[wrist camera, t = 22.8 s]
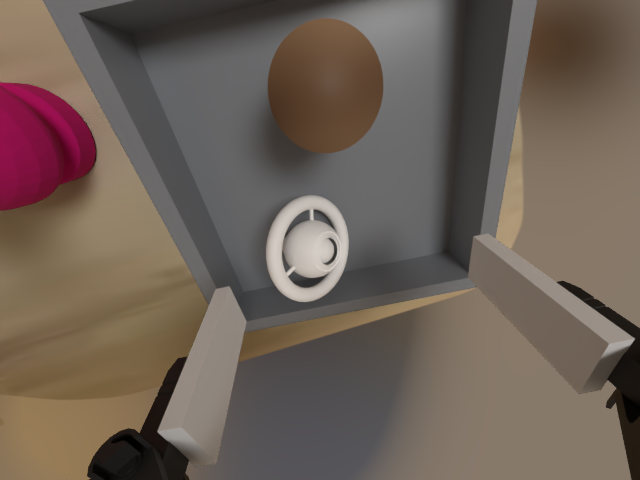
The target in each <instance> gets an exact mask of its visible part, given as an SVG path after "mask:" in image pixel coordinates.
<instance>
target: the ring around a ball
mask: <svg viewBox="0 0 640 480" xmlns="http://www.w3.org/2000/svg"><path fill="white" fill-rule="evenodd" d="M313 209H315V210H319V211H321V212H322V213H324V214H325V215H326V216H327V217H328V218H329V220H330V221H331V223H332V225H333V227H334V229H333V228H332V227H331V226H329V225H328V224H326V223H324V222H321V221H317V220H314V216H313ZM306 210H309V212H310V220H308V221H304V222H301V223H299V224H297V225H296V226H295V227H293V228H292V229H291V230H290V232H289V233H288V235H287V236H286V237H285V238H284V236H285V234H286V231H287V229H288V227H289V225H290V224H291V222H292V221H293V219H294V218H295V217H296V216H297V215H299V214H300V213H302V212H304V211H306ZM282 250H283V253H284V256H285V259H286V261H287V263H288V265H289V266H290V269H289V270H288V271H287V272H285V269H284V266H283V261H282ZM348 250H349V238H348V231H347V226H346V223H345V220H344V218H343V216H342V214H341V213H340V211H339V210H338V208H337V207H336V206H335V205H334V204H333V203H332V202H330V201H329V200H327V199H325V198H323V197H320V196H317V195H306V196H301V197H299V198H296V199H294V200H292V201H291V202H289V203H288V204H287V205H286V206H285V207H284V208H282V210H281V211H280V212H279V213H278V215H277V216H276V218H275V220H274V221H273V223H272V226H271V228H270V231H269V234H268V238H267V244H266V262H267V268H268V271H269V274H270V277H271V279H272V281H273V283H274V285H275V286H276V287H277V289H278V290H279V291H280V292H281V293H282V294H283V295H284V296H286V297H288V298H290V299H291V300H294V301H298V302H310V301H314V300H317V299H319V298H321V297H323V296H324V295H326V294H327V293H328V292H329V291H330V290H331V289H332V288H333V287H334V286H335V285H336V283H337V282H338V281H339V279H340V277H341V275H342V273H343V271H344V268H345V265H346V262H347V257H348ZM293 271H294V272H296V273H297V274H299V275H301V276H304V277H308V278H317V277H321V276H324V275H326V274H327V275H326V277H325V278H324V279H323V280H322V281H321V282H320V283H318V284H317V285H315V286H312V287H309V288H303V287H299V286H297V285H295V284H294V283H293V282H292V281H291V280H290V279H289V277H288V276H289V275H290V274H291V273H292V272H293Z"/></svg>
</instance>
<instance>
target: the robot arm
mask: <svg viewBox="0 0 640 480" xmlns="http://www.w3.org/2000/svg"><path fill="white" fill-rule="evenodd" d="M468 278H469V279H470V280H471V281H472V282H473V283H474V284H475V285H476V286H477V287H478V288H479V289H480V290H481V291H482V293H483V294H484V295H485V296H486V297H487V298H488V299H489V300H490V301H491V302H492V303H493V304H494V305H495V306H496V307H497V308H498V309H499V310H500V311H501V313H502V314H503V315H504V316H505V317H506V318H507V319H508V320H509V321H510V322H511V323H512V324H513V325H514V326H515V327H516V328H517V329H518V330H519V331H520V333H521V334H522V335H523V336H524V337H525V338H526V339H527V340H528V341H529V342H530V343H531V344H532V345H533V346H534V347H535V348H536V349H537V350H538V351H539V352H540V354H542V356H543V357H544V358H545V359H546V360H547V361H548V362H549V363H550V364H551V365H552V366H553V367H554V368H555V369H556V370H557V371H558V373H559V374H560V375H561V376H562V377H563V378H564V379H565V380H566V381H567V382H568V383H569V384H570V385H571V386H572V387H573V388H574V389H575V390H576V391H577V392H578V394H582V393H587V392H593V391H598V390H601V389H602V387H603V386H604V384H605V383H606V381H607V380H609V381H610V382H611V383H612V384H613V385H614V386H615V387H616V390H615V391H614V392H613V394H612V395H611V397H610V398H609V399H608V401H607V404H606V407H607V408H609V409H611V408H612V406H613V405H614V404H615V402H616V405H617V410H618V415H619V420H620V425H621V430H622V435H623V440H624V445H625V450H626V454H627V459H628V464H629V469H630V474H631V479H632V480H640V328H638V327H637V326H636V325H634V324H632V323H631V322H630V321H628V320H627V319H625V318H624V317H622V316H621V315H619V314H617V313H616V312H615V311H613V310H612V309H610V308H609V307H606V306H605V304H603V303H602V302H600V301H599V300H597V299H594V297H593V296H591V295H590V294H588V293H587V292H585V291H584V290H582V289H581V288H579V287H577V286H574V285H572V284H570V283H567V282H565V281H560V282H555V281H554V280H552V279H551V278H549V277H548V276H546V275H545V274H544V273H542V272H541V271H540V270H538V269H537V268H536V267H534V266H533V265H531V264H530V263H529V262H527V261H526V260H524V259H523V258H522V257H520V256H519V255H517V254H516V253H515V252H513V251H512V250H510V249H509V248H508V247H506V246H505V245H503V244H502V243H501V242H499V241H498V240H496V239H495V238H494V237H492V236H491V235H489V234H488V233H487V234H483V235H478V236H473V243H472V250H471V258H470V265H469V272H468ZM245 327H246V319H245V317H244V315H243V313H242V311H241V309H240V307H239V305H238V303H237V301H236V299H235V297H234V294H233V292H232V290H231V288H230V286H228V287H223V288H218V289H215V292H214V294H213V297H212V299H211V302H210V304H209V306H208V309H207V311H206V314H205V316H204V319H203V321H202V324H201V326H200V328H199V331H198V333H197V336H196V338H195V341H194V343H193V346H192V348H191V350H190V353H189V355H188V357H183V358H178V359H177V360H176V362H175V363H174V364H173V365H172V367H171V368H170V369H169V370H168V372H167V375H166V377H165V379H164V381H163V385H162V386H161V388H160V390H159V392H158V396H157V397H156V398H155V401H154V403H153V405H152V407H151V409H150V412H149V414H148V416H147V418H146V420H145V422H144V425H143V427H142V429H141V431H140V433H138V432H137V431H136V430H135V429H125V430H122V431H119V432H118V433H116V434H115V435H113V436H112V437H110V438H109V439H108V440H107V441H106V442H105V443H104V444H103V445H102V446H101V447H100V448H99V450H98V451H97V452H96V454H95V455H94V456H93V459H92V461H91V463H90V465H89V467H88V474H87V476H88V477H89V478H91V479H89V480H189V477H188V476H187V475H186V473H185V472H186V468H187V465H188V462H191V463H192V464H193V465H194V466H195V467H201V466H205V465H211V464H216V463H217V457H218V453H219V448H220V444H221V439H222V434H223V429H224V425H225V420H226V416H227V411H228V406H229V402H230V397H231V392H232V388H233V383H234V377H235V373H236V369H237V363H238V359H239V355H240V350H241V345H242V341H243V336H244V331H245Z"/></svg>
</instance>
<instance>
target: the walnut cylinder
mask: <svg viewBox="0 0 640 480" xmlns="http://www.w3.org/2000/svg"><path fill="white" fill-rule="evenodd" d="M268 98H269V103H270V107H271V110H272V114H273V116H274V118H275V120H276V122H277V124H278V126H279V127H280V129H281V130H282V131H283V133H284V134H285V135H286V136H287V137H288V138H289V139H290V140H291V141H292V142H294V143H295V144H296V145H298V146H300V147H301V148H304V149H306V150H308V151H312V152H316V153H334V152H338V151H342V150H344V149H347V148H349V147H350V146H352V145H354V144H355V143H357V142H358V141H359V140H360V139H361V138H362V137H363V136H364V135H365V134H366V133H367V132H368V131H369V129H370V128H371V126H372V125H373V123H374V121H375V119H376V117H377V115H378V113H379V110H380V107H381V102H382V98H383V73H382V68H381V64H380V61H379V58H378V55H377V53H376V51H375V49H374V47H373V46H372V44H371V43H370V41H369V40H368V39H367V38H366V37H365V35H364V34H363V33H362V32H360V31H359V30H358V29H357V28H355V27H354V26H352V25H350V24H349V23H346V22H344V21H341V20H337V19H332V18H321V19H315V20H311V21H308V22H306V23H304V24H302V25H300V26H298V27H297V28H295V29H294V30H293V31H291V32H290V33H289V34H288V35H287V36H286V37H285V39H284V40H283V41H282V42H281V44H280V45H279V47H278V49H277V50H276V52H275V54H274V57H273V59H272V62H271V66H270V69H269V75H268Z"/></svg>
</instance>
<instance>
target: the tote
mask: <svg viewBox="0 0 640 480" xmlns="http://www.w3.org/2000/svg"><path fill="white" fill-rule="evenodd" d="M43 2H44V4H45V5H46V7H47V9H48V11H49V13H50V15H51V16H52V18H53V20H54V22H55V24H56V26H57V27H58V29H59V31H60V33H61V35H62V37H63V38H64V40H65V42H66V44H67V46H68V48H69V49H70V51H71V53H72V55H73V57H74V59H75V60H76V62H77V64H78V66H79V68H80V70H81V71H82V73H83V75H84V77H85V79H86V81H87V82H88V84H89V86H90V88H91V90H92V92H93V93H94V95H95V97H96V99H97V101H98V103H99V104H100V106H101V108H102V110H103V112H104V114H105V115H106V117H107V119H108V121H109V123H110V125H111V126H112V128H113V130H114V132H115V134H116V136H117V137H118V139H119V141H120V143H121V145H122V147H123V148H124V150H125V152H126V154H127V156H128V158H129V159H130V161H131V163H132V165H133V167H134V169H135V170H136V172H137V174H138V176H139V178H140V180H141V182H142V183H143V185H144V187H145V189H146V191H147V193H148V194H149V196H150V198H151V200H152V202H153V204H154V205H155V207H156V209H157V211H158V213H159V215H160V216H161V218H162V220H163V222H164V224H165V226H166V227H167V229H168V231H169V233H170V235H171V237H172V238H173V240H174V242H175V244H176V246H177V248H178V249H179V251H180V253H181V255H182V257H183V259H184V260H185V262H186V264H187V266H188V268H189V270H190V271H191V273H192V275H193V277H194V279H195V281H196V282H197V284H198V286H199V288H200V290H201V292H202V293H203V295H204V297H205V299H206V301H207V303H208V304H210V302H211V299H212V297H213V294H214V292H215V289H218V288H223V287H228V286H230V288H231V290H232V292H233V294H234V297H235V299H236V301H237V303H238V305H239V307H240V309H241V311H242V313H243V315H244V317H245V319H246V327H245V331H244V332H250V331H255V330H260V329H265V328H270V327H275V326H280V325H285V324H291V323H296V322H301V321H306V320H311V319H316V318H321V317H327V316H332V315H337V314H342V313H347V312H352V311H357V310H362V309H368V308H373V307H378V306H383V305H388V304H393V303H398V302H404V301H409V300H414V299H419V298H424V297H429V296H434V295H440V294H445V293H450V292H455V291H460V290H465V289H470V288H475V287H477V286H476V285H475V284H474V283H473V282H472V281H471V280H470V279H469V278H468V272H469V265H470V258H471V250H472V243H473V236H478V235H483V234H487V233H488V234H489V235H491V236H492V237H494V238H496V232H497V227H498V221H499V215H500V209H501V204H502V198H503V192H504V186H505V181H506V175H507V169H508V164H509V158H510V152H511V146H512V141H513V135H514V129H515V123H516V118H517V112H518V106H519V100H520V95H521V89H522V83H523V77H524V71H525V66H526V60H527V55H528V49H529V43H530V37H531V32H532V26H533V20H534V14H535V9H536V3H537V0H43ZM321 18H332V19H337V20H341V21H344V22H346V23H349V24H350V25H352V26H354V27H355V28H357V29H358V30H359V31H360V32H362V33H363V34H364V35H365V37H366V38H367V39H368V40H369V41H370V43H371V44H372V46H373V47H374V49H375V51H376V53H377V55H378V58H379V61H380V64H381V68H382V73H383V98H382V102H381V107H380V110H379V113H378V115H377V117H376V119H375V121H374V123H373V125H372V126H371V128H370V129H369V131H368V132H367V133H366V134H365V135H364V136H363V137H362V138H361V139H360V140H359V141H358V142H357V143H355V144H354V145H352V146H350V147H349V148H347V149H344V150H342V151H338V152H334V153H316V152H312V151H308V150H306V149H304V148H301V147H300V146H298V145H296V144H295V143H294V142H292V141H291V140H290V139H289V138H288V137H287V136H286V135H285V134H284V133H283V131H282V130H281V129H280V127H279V126H278V124H277V122H276V120H275V118H274V116H273V114H272V110H271V107H270V103H269V98H268V75H269V69H270V66H271V62H272V59H273V57H274V54H275V52H276V50H277V49H278V47H279V45H280V44H281V42H282V41H283V40H284V39H285V37H286V36H287V35H288V34H289V33H290V32H291V31H293V30H294V29H295V28H297V27H298V26H300V25H302V24H304V23H306V22H308V21H311V20H315V19H321ZM306 195H317V196H320V197H323V198H325V199H327V200H329V201H330V202H332V203H333V204H334V205H335V206H336V207H337V208H338V210H339V211H340V213H341V214H342V216H343V218H344V220H345V223H346V226H347V231H348V238H349V250H348V257H347V262H346V265H345V268H344V271H343V273H342V275H341V277H340V279H339V281H338V282H337V283H336V285H335V286H334V287H333V288H332V289H331V290H330V291H329V292H328V293H327V294H326V295H324V296H323V297H321V298H319V299H317V300H314V301H310V302H298V301H294V300H291V299H290V298H288V297H286V296H284V295H283V294H282V293H281V292H280V291H279V290H278V289H277V287H276V286H275V285H274V283H273V281H272V279H271V277H270V274H269V271H268V268H267V262H266V244H267V238H268V234H269V231H270V228H271V226H272V223H273V221H274V220H275V218H276V216H277V215H278V213H279V212H280V211H281V210H282V208H284V207H285V206H286V205H287V204H288V203H289V202H291V201H292V200H294V199H296V198H299V197H301V196H306ZM313 216H314V220H317V221H321V222H324V223H326V224H328V225H329V226H331V227H332V228H333V229H334V227H333V225H332V223H331V221H330V220H329V218H328V217H327V216H326V215H325V214H324V213H322V212H321V211H319V210H315V209H313ZM308 220H310V212H309V210H306V211H304V212H302V213H300V214H299V215H297V216H296V217H295V218H294V219H293V221H292V222H291V224H290V225H289V227H288V229H287V231H286V234H285V236H284V238H285V237H286V236H287V235H288V233H289V232H290V230H291V229H292V228H293V227H295V226H296V225H297V224H299V223H301V222H304V221H308ZM282 261H283V266H284V269H285V272H287V271H288V270H289V269H290V266H289V265H288V263H287V261H286V259H285V256H284V253H283V250H282ZM326 275H327V274H326ZM326 275H324V276H321V277H317V278H308V277H304V276H301V275H299V274H297V273H296V272H294V271H293V272H292V273H291V274H290V275H289V276H288V277H289V279H290V280H291V281H292V282H293V283H294V284H295V285H297V286H299V287H303V288H309V287H312V286H315V285H317V284H318V283H320V282H321V281H322V280H323V279H324V278H325V277H326Z"/></svg>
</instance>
